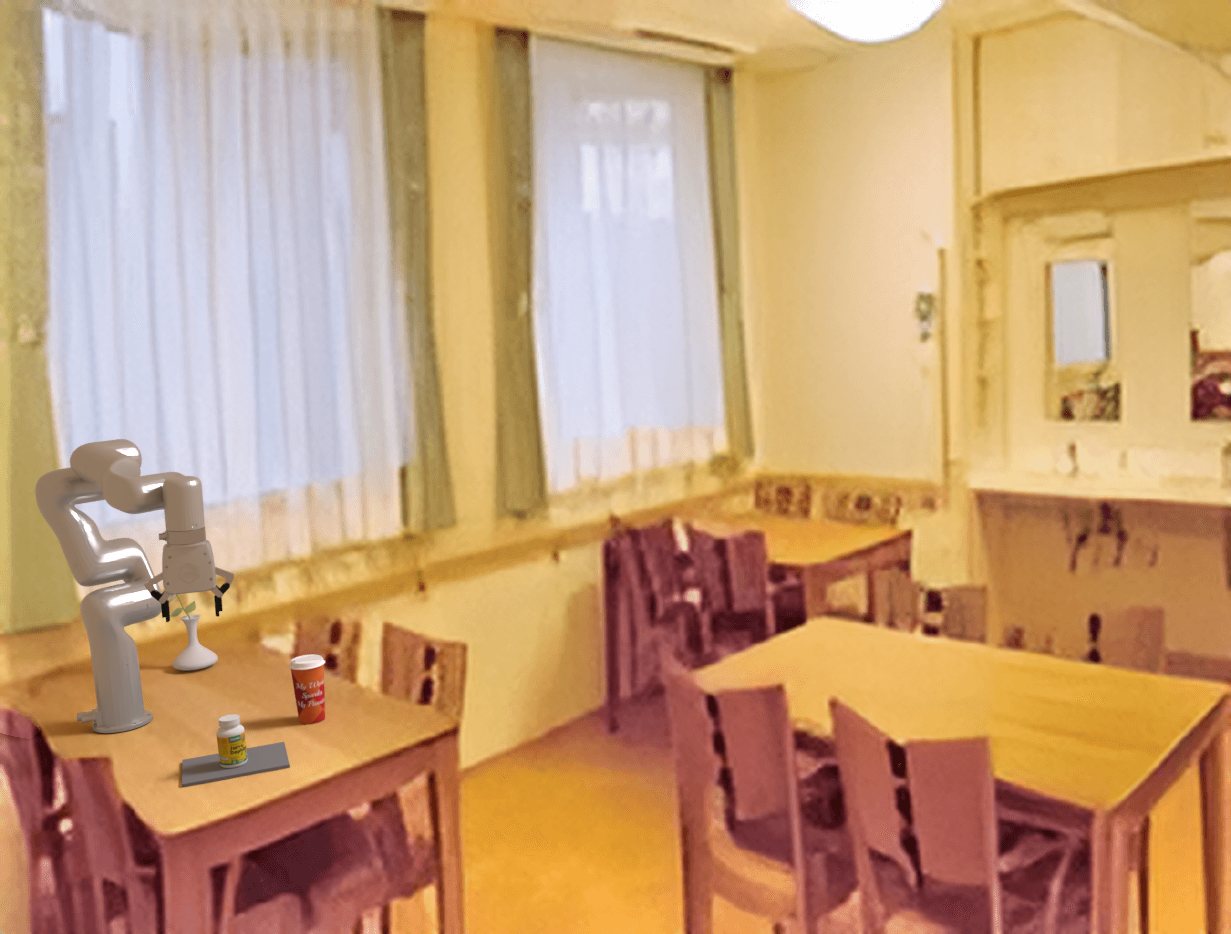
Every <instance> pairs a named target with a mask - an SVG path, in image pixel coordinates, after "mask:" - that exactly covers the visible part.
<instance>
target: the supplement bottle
mask: <svg viewBox="0 0 1231 934" xmlns="http://www.w3.org/2000/svg"><path fill="white" fill-rule="evenodd" d="M217 720H218V721H217V722H218V726H219V728H218V729H217V731H216V742H217V751H218V753H219V760H220V766H221V767H223V768H235V767H239V766H242V765H244V764H245V763H246V762H247V760H248V757H247V748H248V747H247V740H246V731H245V730H246V729H245V727H244V726H243V725H242V724H240V723H241V718H240V715H239V714H237V713H236V714H233V713H232V714H226V715H223V716H221V717H219V718H218V719H217Z"/></svg>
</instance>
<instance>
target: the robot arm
mask: <svg viewBox="0 0 1231 934" xmlns="http://www.w3.org/2000/svg"><path fill="white" fill-rule="evenodd" d="M141 453H142V452H141V450H140V449H139V447H138V446H137V445H136V444H135V443H134V442H133V441H131V440H129V439H124V438H120V439H118V438H117V439H110V440H103V441H94V442H88V443H84V444H82V445H80V446H78V447H77V448H75V449H74V450H73V451H72V453H71V455H70V458H69V465H70V467H64V468H59V469H55V470H51V471H48V472H46V473H45V474H43V475H41V476H40V477H39V478H38V480H37V481H36V484H35V489H34V490H35V491H34V493H35V501H36V505H37V508H38V510H39V512H40V514H41V515H42V518H43V519H44V521H45V522H46V523H47V525H48V526H49V528H51V530H52V531H53V534H54V535H55V536H56V539H57V541H58V542H59V546H60V548H61V550H62V553H63V555H64V558H65V560H66V562H67V565H68V566H69V569H70V572H71V574H72V576H73V578H74V581H76V583H77V584H78V585H79V586H82V587H95V586H100V585H105V584H108V583H109V584H110V583H115V582H117V581H123V583H120V584H119V583H118V584H114V585H109V586H105V587H102V588H98V589H95V590H92V591H90V592H89V593H87V594H86V595H85V596H84V597H83V598H82V600H81V603H80V607H79V609H80V611H79V612H80V616H81V619H82V622H83V625H84V628H85V631H86V635H87V639H88V644H89V652H90V658H91V664H92V665H91V666H92V673H93V681H94V691H95V697H96V707H95V708H92V709H91V710H89V711H81V712H76V721H77V722H81V723H89V722H92V724H91V727H92V731H94V732H96V733H98V734H99V733H100V734H115V733H123V732H129V731H131V730H135V729H138V728H141V727H143V726H145V725H147V724H149V723H150V722H152V720H153V718H154V717H153V713H152V711H150V710H147V709H145V703H144V697H143V689H142V679H141V671H140V670H141V668H140V662H139V653H138V652H139V651H138V646H137V644H136V643H137V642H136V641H135V640H134V638H133V637H132V636H130V634H129V633H128V632H127V631H126V630H125V627H128V626H131V625H134V624H138V623H143V622H146V621H149V620H152V619H154V618H156V617H158V616H159V615H161V618H162V619H164V618H165V623H169V622H170V621H171V614H170V613H171V611H170V603H169V601H168V600H167V599H168V598H169V596H170V595H171V594H178V595H182V594H183V595H184V594H192V593H193V594H194V593H201V592H202V593H203V592H209V591H211V592H212V593H213V594H214V596H213V597H214V600H213V601H214V611H215V617H220V612H223V600H222V599H223V598H222V597H223V595H224V594H225V593H226V592H227V591H228V590H229V589H230V586H231V585H232V583H233V580H234V578H235V574H234V573H233V572H230V571H227V570H225V569H222V568H219V567H217V566H216V564H215V556H214V552H213V547H212V543H211V541H210V540H209V539H208V540H207V534H206V523H205V508H204V499H203V498H204V497H203V495H204V494H203V485H202V482H201V481H202V480H201V479H200V478H199V477H197V476H193V475H185V474H183V473H182V472H181V473H180V472H178V471H168V472H161V473H152V474H146V475H141V473H142V472H141V467H142V463H143V462H142V461H143V458H142V454H141ZM104 500H105V501H106V504H108V505H109V507H111V508H113V509H114V510H115V509H116V510H118V511H120V512H122V513H125V514H130V515H140V514H141V515H142V514H145V513H150V512H155V511H160V510H163V511H164V522H165V523H164V524H165V531H164V532H161V533H158V540H159V541H162V540H163V541H165V542H166V543H165V544H164V545H163V547H162V553H161V554H162V555H161V556H162V557H161V559H162V560H161V566H162V567H161V568H162V571H161V572H159V573H158V574H156V575H155V574H154V571H153V569H152V566H151V564H150V562H149V559H148V556H147V555H146V552H145V551H144V549H143V547H142V546H141V544H140V543H139V542H138V541H136V540H135V539H132V538H130V537H121V538H120V537H118V538H114V539H109V540H106V539H105V538H103V536H102V535H101V533H100V530H99V527H98V526H97V523H96V522H95V521H94V520H93V519H92V518H91V517H90V516H89V515H88V514H87V513H85V512H84V511H82V510H80V509H79V508H77V507H76V506H75V505H82V504H87V503H94V502H100V501H104ZM217 576H219V577H222V578H224V579H225V581H224V583H222V585H221V586H219V585H218V584H217ZM161 581H162V585H163V586H162V587H163V589H164V591H163V592H162V591H161V588H160V585H159V583H160V582H161Z"/></svg>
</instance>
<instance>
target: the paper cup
mask: <svg viewBox="0 0 1231 934" xmlns="http://www.w3.org/2000/svg"><path fill="white" fill-rule="evenodd" d="M324 664H326V660H324V657H322V655H320V654H313V653H312V654H303V655H299V656H296V657H294V658H291V659H290V663H289V666H288V667H289V670H290V673H291V680H292V685H293V692H294V698H295V704H296V710H297V715H298V721H299V724H302V725H313V724H318V723H320V722H322V721H325V720H326V694H325V693H326V691H325V673H324V672H325V671H324V670H325V669H324Z"/></svg>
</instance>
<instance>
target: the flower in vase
mask: <svg viewBox="0 0 1231 934" xmlns="http://www.w3.org/2000/svg"><path fill="white" fill-rule="evenodd" d="M162 590H163V592H164V588H163V589H162ZM176 598H177V599H178V601H179V603H180V605H181V607H177V608H175V609H174V610H173V611H172V613H171V614H170V618H173V617H174V618H175V617H178V616H180V615H181V613H182V612H183V611H184V613H185V614H186V615H183V616H181V617H179V618H180V620H181V621H182V623H183V624H184V625H185V629H186V631H187V638H188V639H187V641H188V642H187V645H186V647H184V649H183V650H182V651H181V652H180V653H179V654H178V655H177V656H176V657H175V659H174V660H173V662H172V667H173V669H175V670H179V671H188V672H189V671H195V670H197V671H198V670H201V669H205V668H208V667H211V666H212V665H214V664H216V663H217V661H218V660H219V657H218V655H217V654H216V653H215V652H214V651H212V650H211V649H209V648H207V647H205V646H203V645H202V644H200V642H199V639H198V632H197V631H198V629H197V628H198V623H199V619H200V618H201V614H198V613H197V614H195V613H194V614H190V613H192V612H194V611H195V610H196V609H197V604H196V601H195V600H193V601H191V603H189V604H188V605H187V606H185V607H184V606H183V605H184V604H183V602H182V601H181V598H180V596H179V594H171V595H170V596H169V598H168V599H167V600H168V601H169V604H170V603H171V602H172V601H174V599H176Z"/></svg>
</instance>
